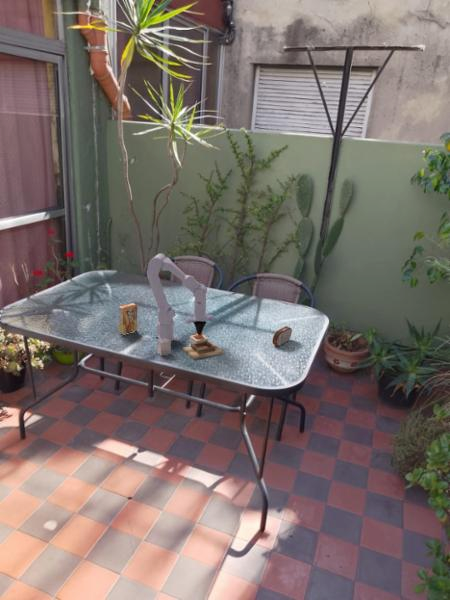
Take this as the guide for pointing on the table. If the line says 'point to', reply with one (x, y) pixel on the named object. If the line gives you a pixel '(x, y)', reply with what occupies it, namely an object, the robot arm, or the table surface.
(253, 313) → the table surface
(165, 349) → the billet
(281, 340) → the sandwich
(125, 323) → the candy box
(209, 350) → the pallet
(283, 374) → the table surface
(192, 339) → the button housing
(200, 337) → the button
